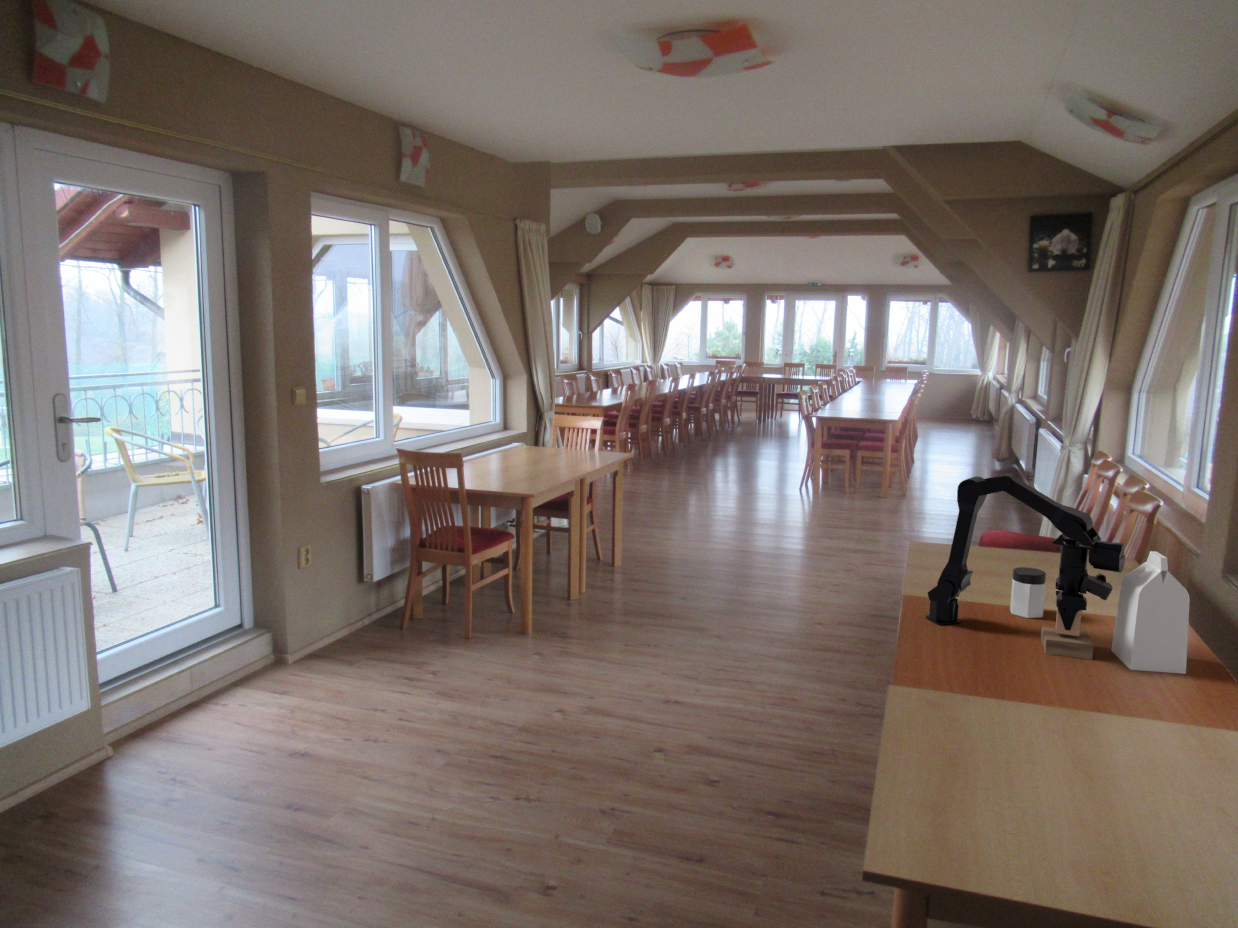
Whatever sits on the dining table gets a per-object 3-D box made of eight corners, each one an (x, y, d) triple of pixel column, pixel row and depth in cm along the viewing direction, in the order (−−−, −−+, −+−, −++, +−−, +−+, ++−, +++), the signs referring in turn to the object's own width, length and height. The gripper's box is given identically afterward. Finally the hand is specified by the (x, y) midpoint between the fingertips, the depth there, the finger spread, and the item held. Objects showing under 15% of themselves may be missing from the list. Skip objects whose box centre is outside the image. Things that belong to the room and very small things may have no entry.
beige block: (1092, 660, 200) (1093, 644, 200) (1045, 655, 204) (1046, 639, 203) (1085, 646, 209) (1086, 630, 209) (1040, 640, 213) (1041, 625, 212)
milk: (1185, 673, 192) (1198, 562, 188) (1130, 669, 194) (1141, 559, 190) (1163, 653, 204) (1174, 549, 200) (1111, 650, 206) (1121, 546, 202)
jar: (1049, 614, 232) (1053, 572, 230) (1035, 620, 227) (1039, 577, 225) (1017, 606, 239) (1020, 565, 237) (1002, 612, 233) (1006, 570, 232)
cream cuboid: (1080, 636, 202) (1082, 612, 201) (1054, 632, 205) (1057, 609, 204) (1079, 629, 207) (1081, 606, 206) (1054, 626, 209) (1056, 602, 208)
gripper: (1114, 579, 191) (1108, 644, 194) (1109, 559, 208) (1103, 619, 210) (1059, 572, 196) (1053, 636, 199) (1058, 553, 213) (1052, 613, 215)
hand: (1067, 626), depth 206 cm, fingers closed on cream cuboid, 5 cm apart
